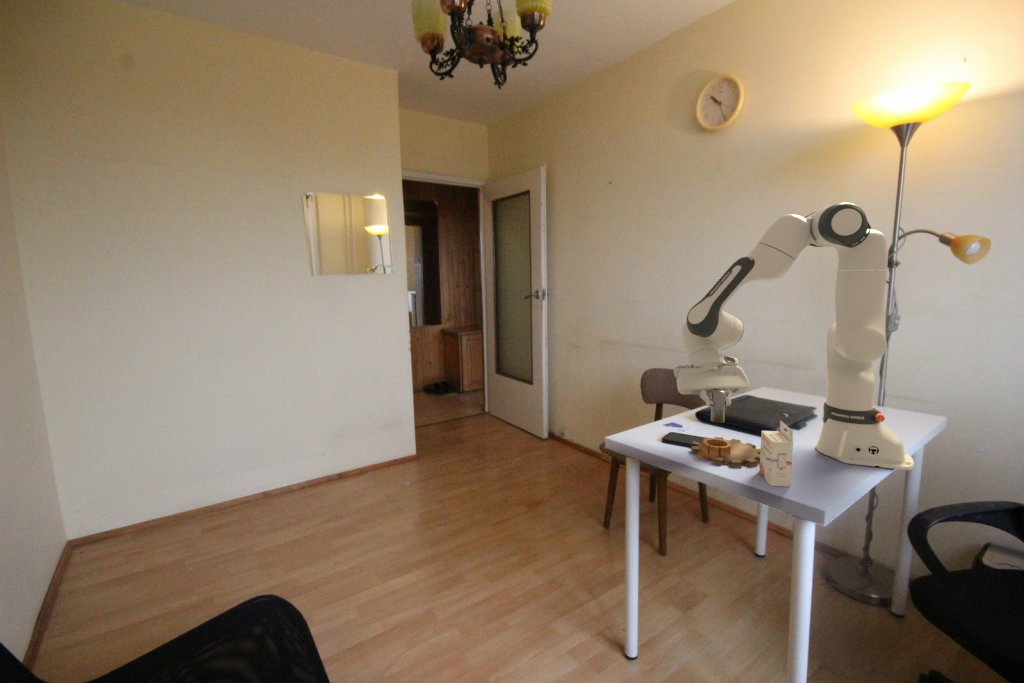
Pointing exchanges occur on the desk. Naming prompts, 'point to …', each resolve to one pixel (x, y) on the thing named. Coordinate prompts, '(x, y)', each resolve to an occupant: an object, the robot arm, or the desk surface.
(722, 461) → the sprocket
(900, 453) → the robot arm
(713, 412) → the pin
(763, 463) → the ink cartridge box
